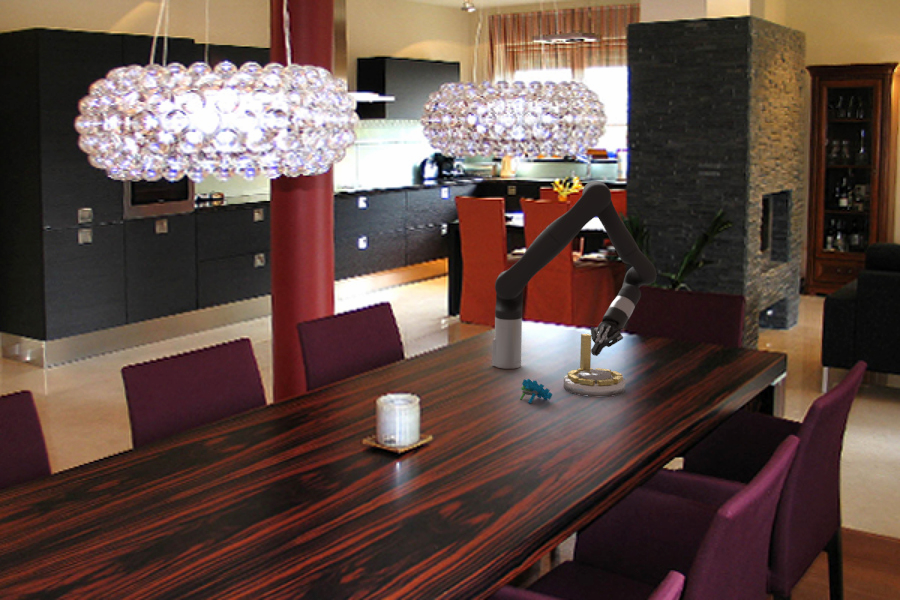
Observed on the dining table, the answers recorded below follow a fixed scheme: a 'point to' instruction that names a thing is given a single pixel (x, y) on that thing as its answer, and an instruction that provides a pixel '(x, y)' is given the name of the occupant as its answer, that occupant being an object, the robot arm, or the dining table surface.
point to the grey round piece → (594, 389)
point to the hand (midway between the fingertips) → (594, 354)
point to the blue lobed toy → (534, 390)
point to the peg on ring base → (585, 365)
